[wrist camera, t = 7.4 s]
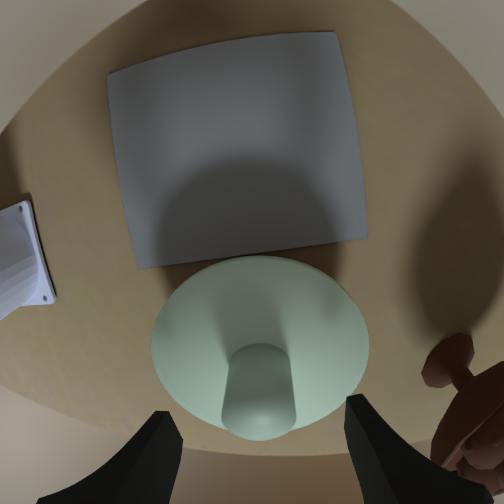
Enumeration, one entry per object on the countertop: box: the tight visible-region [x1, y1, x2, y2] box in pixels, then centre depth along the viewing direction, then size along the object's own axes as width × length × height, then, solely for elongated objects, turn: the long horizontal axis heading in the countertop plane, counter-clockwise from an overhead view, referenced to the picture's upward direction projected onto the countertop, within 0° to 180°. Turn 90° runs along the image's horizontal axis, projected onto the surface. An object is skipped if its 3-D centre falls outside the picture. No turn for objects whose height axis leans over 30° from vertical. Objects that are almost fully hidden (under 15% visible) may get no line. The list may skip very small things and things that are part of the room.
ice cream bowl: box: [421, 333, 504, 497], centre depth 12 cm, size 11×11×15 cm
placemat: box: [107, 32, 368, 269], centre depth 15 cm, size 14×13×1 cm
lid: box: [151, 255, 369, 440], centre depth 12 cm, size 11×11×4 cm
